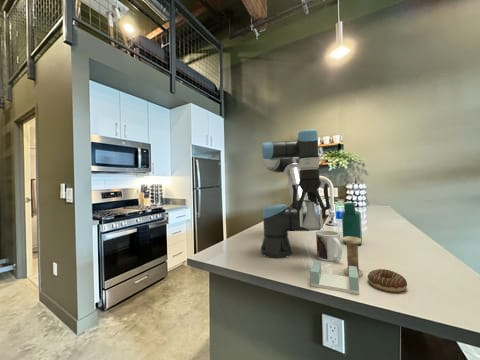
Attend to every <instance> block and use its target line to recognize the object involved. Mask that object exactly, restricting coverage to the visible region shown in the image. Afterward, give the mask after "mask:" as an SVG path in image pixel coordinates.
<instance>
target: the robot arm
mask: <svg viewBox="0 0 480 360" xmlns="http://www.w3.org/2000/svg"><path fill="white" fill-rule="evenodd" d="M261 157H262V159H263V166H264V168H265V169H267V170H268V171H269V172H273V173H284V175H285V176H286V177H287V182H288V187H289V188H288V189H289V194H290V199H291V203H290V205H289V207H288V205H287V204H285V203H283V204H280V203H279V204H274V205H269V206H266V207H264V208H263V211H262V215H263V216H262V219H263V240H262V243H261V248H260V254H261V255H262V254H263V255H262V256H264V255H265V256H264V257H267V256H268V257H267V258H271V257H275V258H274V259H280V258H281V259H283V258H286V257H287V256H288V257H290V256H292V255H293V247H292V244H291V241H290V240H289V233H288V232H313V231H317V229H307V228H304V227H302V226H303V223H304V220H305V216H306V213H307V204H306V203H307V202H312V201H311V200H309V197H308V193H314V196H315V198H316V200H317V203H318V205H319V206H320V210H319V207H318V206H316V205H314V209H315V213H316V215H317V218H318V220H319V223H320V227H321V228H320V229H323V228H324V220H325V219H326V217H327V216H326V215H327V214H326V212H327V210H330V209H331V202H330V197H329V196H330V195H329V191H328V189H329V184H328V183H325V182H321V179H320V170H319V167H320V161H319V159H320V158H319V136H318V131H317V130H316V129H313V128H312V129H303V130H300V131H299V132H298V133H297V140H288V141H287V140H285V141H283V140H282V141H267V142H263V143H262V144H261ZM320 187H321V188H322V189H323V194H324V199H325V203H324V202H323V200H322V197H321V196H320V193H319V190H318V189H319V188H320ZM291 254H292V255H291ZM282 257H283V258H282ZM288 257H287V258H288Z"/></svg>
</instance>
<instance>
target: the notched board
mask: <svg viewBox="0 0 480 360" xmlns="http://www.w3.org/2000/svg"><path fill="white" fill-rule="evenodd" d="M312 263H313V264H312V265H311V269H310V286H311V287H315V288H319V289H325V290H326V289H327V290H332V291H338V292H343V293H350V294H356V295H360V287H359V284H360V283H359V282H360V281H359V279H360V278H359V277H358V272H357V267H355V266H349V276H344V275H336V274H331V273H329V274H328V273H323V272H322V262H321V261H313V262H312Z"/></svg>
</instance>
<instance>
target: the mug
mask: <svg viewBox="0 0 480 360" xmlns="http://www.w3.org/2000/svg"><path fill="white" fill-rule="evenodd" d="M340 235H341V234H340V233H339V232H338V231H335V230H327V229H325V230H324V229H323V230H316V232H315V236H316V237H315V239H316V256H317V258H318V259H320V260H322V261H328V262H337V261H340V260H341V257H342V255H343V247H342V243H341V241H340V239H341V238H340V237H341V236H340Z"/></svg>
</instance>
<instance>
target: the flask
mask: <svg viewBox="0 0 480 360" xmlns="http://www.w3.org/2000/svg"><path fill="white" fill-rule="evenodd" d="M315 203H316V202H315V201H311V202H307V203H306V204H307V213H306V216H305V220H304V223H303V226H302V227H304V228H307V229H316V230H318V229H322V228H321V227H320V219H319V220H318V218H317V215H316V213H315V209H314V206H315Z"/></svg>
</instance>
